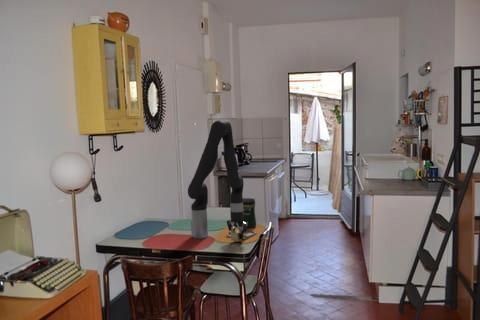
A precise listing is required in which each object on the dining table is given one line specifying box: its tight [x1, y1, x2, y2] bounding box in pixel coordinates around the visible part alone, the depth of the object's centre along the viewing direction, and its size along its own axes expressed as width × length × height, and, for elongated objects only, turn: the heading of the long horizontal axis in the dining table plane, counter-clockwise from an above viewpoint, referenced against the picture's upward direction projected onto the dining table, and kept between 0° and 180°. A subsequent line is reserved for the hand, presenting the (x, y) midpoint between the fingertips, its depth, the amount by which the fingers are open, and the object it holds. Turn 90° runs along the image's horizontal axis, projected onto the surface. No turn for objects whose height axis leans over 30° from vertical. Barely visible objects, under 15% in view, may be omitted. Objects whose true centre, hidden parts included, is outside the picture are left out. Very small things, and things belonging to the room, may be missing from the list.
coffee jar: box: [243, 197, 257, 229], centre depth 260 cm, size 10×8×19 cm
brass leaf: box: [230, 228, 244, 243], centre depth 231 cm, size 4×7×5 cm, turn 145°
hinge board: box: [226, 227, 257, 241], centre depth 243 cm, size 13×13×4 cm
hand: (237, 238), depth 231 cm, fingers closed on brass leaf, 4 cm apart
